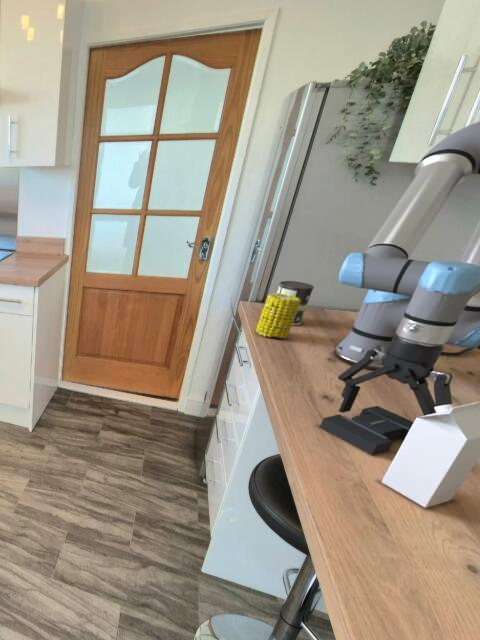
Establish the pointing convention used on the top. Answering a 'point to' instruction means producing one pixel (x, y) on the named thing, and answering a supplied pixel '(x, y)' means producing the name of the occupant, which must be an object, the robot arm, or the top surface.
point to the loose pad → (379, 425)
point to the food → (278, 315)
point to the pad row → (365, 430)
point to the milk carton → (437, 455)
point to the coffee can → (297, 291)
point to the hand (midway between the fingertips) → (375, 426)
